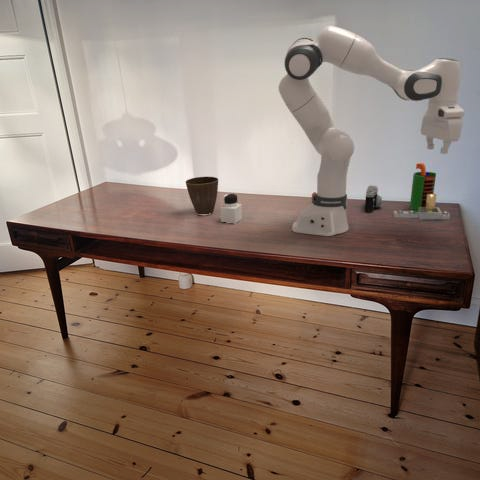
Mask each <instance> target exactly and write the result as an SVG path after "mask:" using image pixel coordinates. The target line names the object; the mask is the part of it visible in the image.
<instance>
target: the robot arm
mask: <svg viewBox="0 0 480 480" xmlns="http://www.w3.org/2000/svg"><path fill="white" fill-rule="evenodd" d="M323 63H328V64H331V65H333V66H336V67H338V69H339V68H340V69H341V70H343V71H346V72H347V73H352V74H356V75H361V76H363V75H364V76H368V77H370V78H373V79H376V80H377V81H379V82H381V83H383V84H385V85H386V86H388V87H390V88H392V90H393V91H394V93H395V95H396V96H397V97H398V98H399V99H401V100H404V101H411V102H419V101H420V102H421V101H423V100H428V104H427V110H426V112H425V114H424V115H423V117H422V120H421V121H422V122H421V126H420V127H421V128H420V134H421V135H423V136H426V137H425V139H426V143H427V146H426V149H428V150H434V148H435V144H434V139H438V140H440V141H442V143H443V144H442V145H443V146H442V147H441V148H440V153H441V154H442V155H445V154H448V153H449V148H450V147H451V145H452V143H453V142H458V141H459V140H460V138H461V135H462V127H463V118H464V116H465V109H463V108H462V107H461V106H459V105H460V104H458V100H459V98H458V90H459V89H460V83H461V65H460V64H461V63H460V62H459V60H456V59H453V58H444V57H438V58H436V59H435V60H434V61H432V62H431V63H429V64H427V65H425V66H424V67H421V68H419V69H417V70H415V69H414V70H412V69H409V70H408V69H401V68H399V67H397V66H395V65H393V64H391V63H390V62H387V61H385V60H384V59H382V58H381V57H380V56H379V55H378V52H376V49H375V47H374V45H373V44H372V43H371V42H369V41H368V40H366V38H364V37H362V36H360V35H358V34H356V33H354V32H352V31H350V30H347V29H345V28H342V27H338V26H336V25H335V26H334V25H326V26H325V27H324V28H322V29H321V30H320V31H319V32H318V35H317V36H316V38H315V39H314V40H313V39H312V38H308V37H301V38H299V39H297V40H295V41H294V42H293V43H292V44H291V45H290V47H288V49H287V52H286V55H285V57H284V69H285V71H286V73H287V74H286V75H284V77H282V78H281V80H280V82H279V84H278V92H279V94H280V97H281V99H282V101H283V102H284V104H285V106H286V107H287V109H288V110H289V112H290V113H291V114H292V116H293V118H294V120H296V121H297V123H298V125H299V126H300V127H301V128H302V130H303V131H304V133H305V135H306V136H307V139H308V140H309V141H310V143H311V145H312V146H313V147H314V149H315V151H316V152H317V153H318V154H319V155H320V156H321V157H320V165H319V170H318V171H317V174H316V175H317V176H316V177H317V178H316V180H317V181H316V183H317V184H316V185H317V186H316V190H317V192H314V191H313V192H312V194H311V203H310V204H309V205H307V206H306V207H305V208H302V210H301V211H299V214H298V215H297V216H298V217H297V220H295V221H294V222H293V223H292V225H291V230H292V232H294V233H296V234H307V235H315V236H323V237H333V236H334V235H340V234H342V233H343V234H344V233H346V232H348V230H349V229H350V227H349V224H348V219H347V208H348V195H347V179H348V177H347V175H348V170H349V167H350V163H351V162H350V161H351V159H352V155H353V154H354V151H355V144H354V141H353V139H352V138H351V135H349V134H348V133H346V132H345V131H341V129H339V128H338V127H337V126H336V124H335V123H334V120H333V119H332V116H331V115H330V112H329V109H328V108H327V106H326V105H325V104H324V102H323V100H322V99H321V98H320V96H319V95H318V93H317V92H316V90H315V89H314V88H313V86H312V85H311V82H310V80H309V78H310V77H311V76H312V75H314V73H315V72H316V71H317V70H318V69H319V68H320V66H321V65H322V64H323Z"/></svg>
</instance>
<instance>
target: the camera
mask: <svg viewBox="0 0 480 480" xmlns="http://www.w3.org/2000/svg"><path fill="white" fill-rule="evenodd" d="M378 190H379V189H378V187H377V185H368V187H367V189H366V192H365V204H364V213H366V214H371V213H373V211H374V209H376V208H379V207H381V206H382V199H383V198H382V196H381V195H379V194H378V192H379V191H378Z"/></svg>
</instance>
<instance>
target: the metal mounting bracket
mask: <svg viewBox="0 0 480 480" xmlns="http://www.w3.org/2000/svg"><path fill="white" fill-rule="evenodd" d="M425 209H426V207H419V208H418V212H416V211H414V210H411V209H409V210H408V211H407V210H403V209H397V210H393V218H394V219H395V218H397V219H398V218H399V219H400V218H401V219H402V218H403V219H405V218H406V219H419V221H433V222H434V221H435V222H436V221H437V222H438V221H439V222H441V221H442V220H450V218H451V214H450V213H449V211H448V210H441V209H440V207H438V206H437V207H436V206H435V211H434V212H425Z"/></svg>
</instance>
